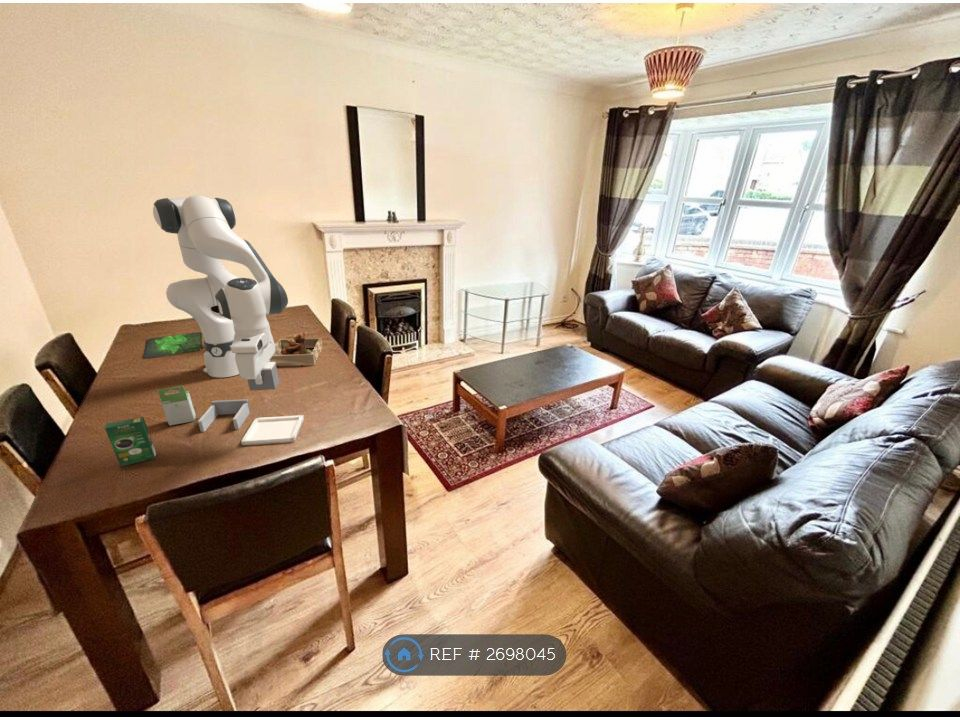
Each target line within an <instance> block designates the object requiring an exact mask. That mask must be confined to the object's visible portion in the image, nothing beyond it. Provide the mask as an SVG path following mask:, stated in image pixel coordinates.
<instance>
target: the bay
mask: <svg viewBox="0 0 960 720" xmlns="http://www.w3.org/2000/svg"><path fill="white" fill-rule="evenodd" d="M210 403H211V405H210V407H209V408H208V409H207V410H206V412H205V413H203V415H202V416H201V417H200V418H199V419H198V420H197V423H198V427H199V430H200V433H204V432H206V431H207V430H208V429H209V427H210V425H212V423H213V422H214V421H215V419H216V418H217V416H219V415H221V416H223V415H234V417H233V418H232V421H233V425H234V430H237V431H238V430H240V429H241V428H242V426H243V424H244V423H245V421H246V420H247V418H248V417H249V415H250V413H251V407H250V403H249V399H248V398H244V399H241V398H240V399H224V400H223V399H221V400H212V401H211V402H210Z"/></svg>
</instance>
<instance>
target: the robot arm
mask: <svg viewBox="0 0 960 720" xmlns="http://www.w3.org/2000/svg"><path fill="white" fill-rule="evenodd" d="M152 215H153V218H154V220H155V222H156V224H157V225H158V226H159V227H160V229H161V230H162V231H164V232H165V233H168V234H173V235H174V234H176V235H177V241H178V245H179V250H180V253H181V257H182V262H183V263H184V265H185V266H186V267H187V268H188V269H190V270H192V271H194V272H197V273H201V274H203V275H206V277H205V276H204V277H200V278H191V279H182V280H179V281H175V282H171V283H169V284H168V285H167V288H166V291H165V293H166V294H165V295H166V299H167V301H168V302H169V303H170V305H171V306H172V307H174V308H176V309H178V310H180V311H183V312H184V313H186V314H188V315H190V316H191V317H192V318H193V319H194V320H195V321H196V323H197V324H198V326H199V328H200V332H201V335H202V338H203V347H204V349H205V352H204V353H203V357H204V358H203V359H204V364H205V367H204V368H203V373H205V374H208V375H209V376H210V377H212V378H228V377H234V376H237V375H239V376H240V378H241V379H242V380H247V379H255V382H256V384H257V385H258V384H262V383H263V382H264V380H263V377H262V376H261V371H262V369H263V368H264V367H265V365H266V364H267V363H268V362H270V359H271V357H272V356H273V354H274V353H275V344H276V343H275V340H274V337H273V334H272V331H271V327H270V323H269V320H268V319H267V315H279V314H282V312H283V311H284V310H285V309H286V308H287V306H288V303H289V298H288V294H287V292H286V290H285V287H283V285H281V283H280V282H279V281H278V280H277V278H275V276H274V275H273V273H272V272H271V271H270V268H268V265H266V263H265V262H264V260H263V258H261V255H260V254H259V253H258V252H257V250H256V249H255V247H253V245H252V244H251V243H250V241H248V240H246V239H244V238H242V237H240V236H239V235H238V234H237V233H235V232H234V231H233V229H234V228H235V226H236V225H237V224H236V222H237V214H236V212H235V209H234V208H233V206H232V204H231V203H230V202H229V201H228V200H227V199H224V198H221V197H215V198H212V197H208V196H206V195H201V194H199V195H198V194H196V195H195V194H194V195H190V196H189V197H174V198H169V197H166V198H159V199H156V200H155V202H154V203H153V207H152ZM223 260H224V261H227V262H228V261H229V262H234V263H237V264H240V265H242V266H244V267H246V268H247V269H248V270H249V271H250V273H251V274H252V276H253V277H254V278H255V279H252V278H248V277H239V276H238V275H235V274H233V273H231V272H230V270H227V268H226V267H225V265H224V264H223ZM216 306H217V308H218V312H215V311H213V310H212V307H216ZM233 320H234V323H233Z"/></svg>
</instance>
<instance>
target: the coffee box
mask: <svg viewBox="0 0 960 720" xmlns="http://www.w3.org/2000/svg"><path fill="white" fill-rule="evenodd" d="M104 429H105V432H106V435H107V437H108V440H109V443H110V445H111V447H112V451H113V452H114V455H115V457H116V460H117V462H118V464H119V466H120V467H125V466H131V465H135V464H137V463H143V462H146V461H151V460H155V459H156V457H157V452H156V449H155V446H154V443H153V440H152V438H151V435H150V431H149V429H148V425H147V423H146V420H145V417H144V416H139V417H134V418H130V419H124V420H117V421H112V422H107V423H106V425H105V427H104Z"/></svg>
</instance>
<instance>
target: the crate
mask: <svg viewBox="0 0 960 720" xmlns="http://www.w3.org/2000/svg"><path fill="white" fill-rule="evenodd" d="M288 340H289V341H290V340H294V339H293V338H279V339H278V340H277V341H276V342H275V343H274V344H275V353H274V354H273V356H272V357H271V359H270V362H275V363H276V366H278V367H297V366H298V367H300V366H301V365H303V366H315V365H316V362H317V361H316V360H318V359H317V358H319V357H318V356H320V355H321V352H322V350H323V348H324V347H323V340H322V337H311V338H308V337H307V338H306V337H305V340H304V344H305V348H314V349H312V350H311V352H312V353H311V354H293V355H282V354H281V351H282V349H284V348H285V347H286V346H287V345H289V343H288ZM322 347H323V348H322ZM321 349H322V350H321ZM279 353H280V354H279ZM301 367H302V366H301Z"/></svg>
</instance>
